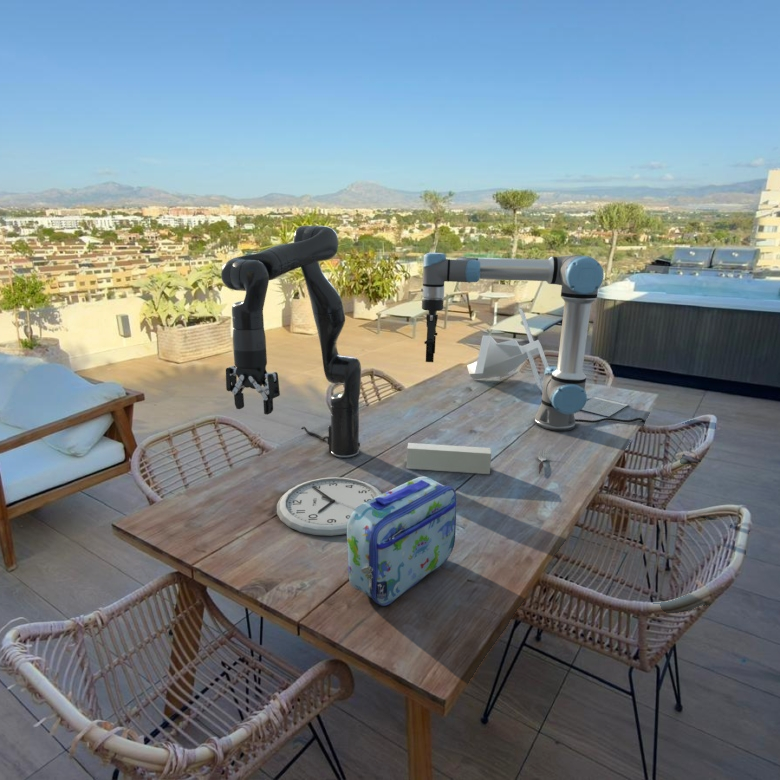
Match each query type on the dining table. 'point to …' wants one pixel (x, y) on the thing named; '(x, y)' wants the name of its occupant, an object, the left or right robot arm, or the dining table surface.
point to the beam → (449, 458)
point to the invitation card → (603, 406)
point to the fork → (542, 460)
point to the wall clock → (324, 504)
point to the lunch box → (400, 538)
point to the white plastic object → (506, 356)
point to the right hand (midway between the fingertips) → (430, 357)
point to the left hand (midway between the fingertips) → (253, 410)
